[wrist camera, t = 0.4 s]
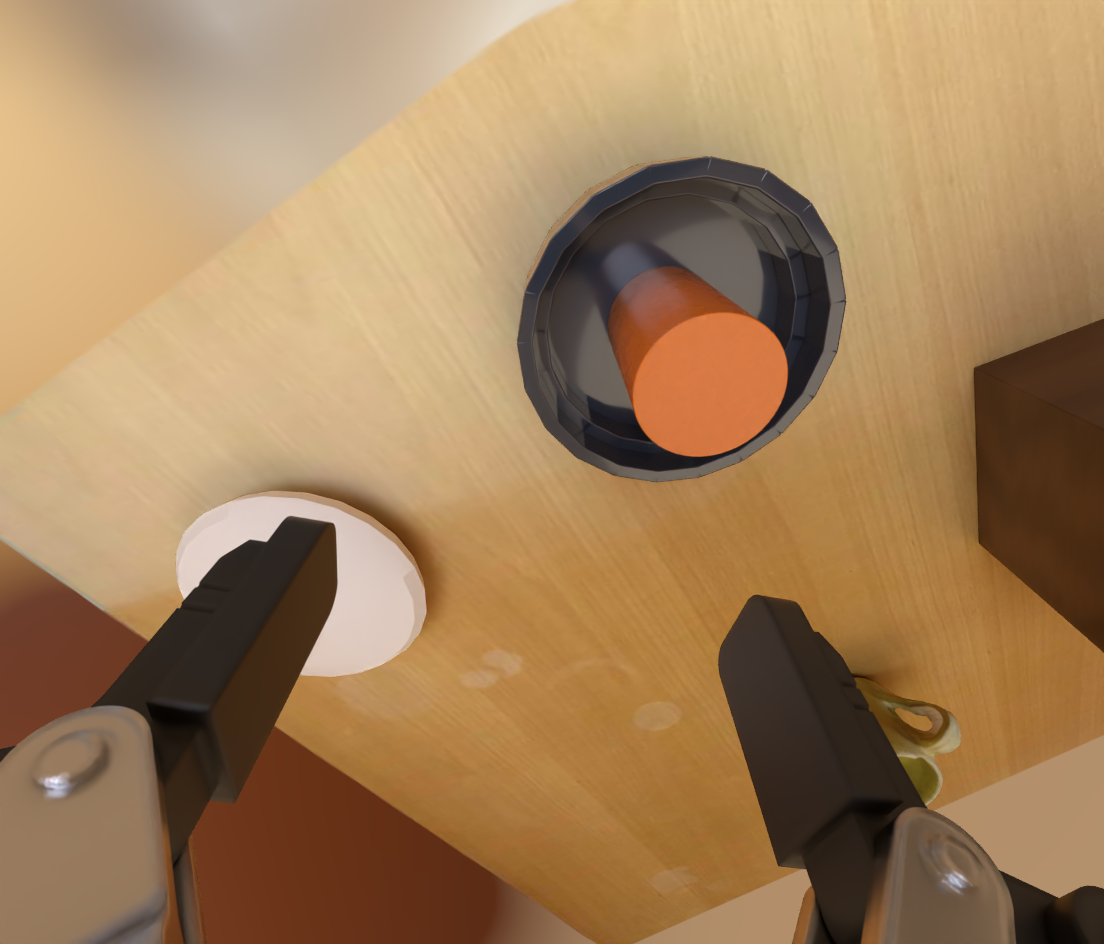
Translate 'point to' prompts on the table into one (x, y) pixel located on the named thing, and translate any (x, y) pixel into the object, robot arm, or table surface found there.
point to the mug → (914, 735)
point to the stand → (1047, 471)
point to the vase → (362, 568)
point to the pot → (696, 245)
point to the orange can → (694, 363)
